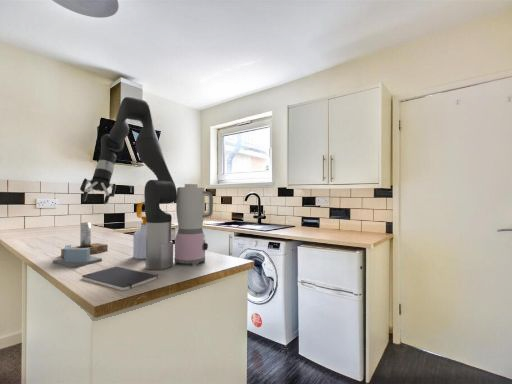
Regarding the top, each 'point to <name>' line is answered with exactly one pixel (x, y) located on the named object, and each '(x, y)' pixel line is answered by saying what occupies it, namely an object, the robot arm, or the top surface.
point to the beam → (93, 248)
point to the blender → (191, 224)
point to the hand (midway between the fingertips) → (94, 202)
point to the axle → (85, 235)
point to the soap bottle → (140, 236)
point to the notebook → (119, 277)
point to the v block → (76, 257)
